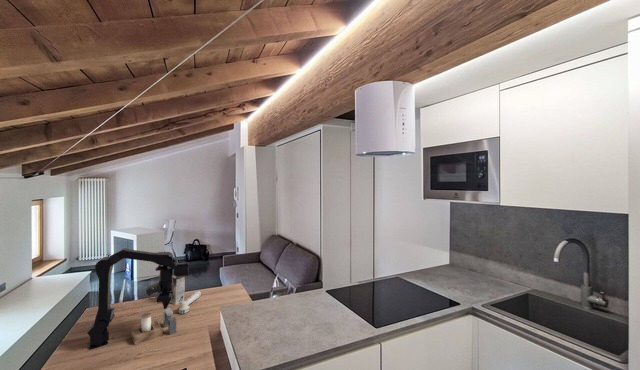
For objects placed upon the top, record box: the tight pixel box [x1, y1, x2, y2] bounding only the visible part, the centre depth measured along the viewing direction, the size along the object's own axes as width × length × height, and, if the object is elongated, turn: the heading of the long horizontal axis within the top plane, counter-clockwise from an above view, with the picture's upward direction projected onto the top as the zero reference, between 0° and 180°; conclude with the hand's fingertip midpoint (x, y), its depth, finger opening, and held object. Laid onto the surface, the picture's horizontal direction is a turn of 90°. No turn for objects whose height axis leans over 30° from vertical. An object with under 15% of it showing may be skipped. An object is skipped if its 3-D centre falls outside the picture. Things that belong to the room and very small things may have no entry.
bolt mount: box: [162, 311, 177, 336], centre depth 142 cm, size 3×12×7 cm, turn 43°
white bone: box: [178, 290, 202, 315], centre depth 170 cm, size 5×7×25 cm
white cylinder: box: [140, 312, 152, 333], centre depth 137 cm, size 4×4×10 cm
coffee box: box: [169, 273, 186, 306], centre depth 174 cm, size 9×6×16 cm
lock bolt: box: [164, 307, 174, 317], centre depth 143 cm, size 2×6×2 cm, turn 43°
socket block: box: [129, 320, 163, 346], centre depth 137 cm, size 12×12×3 cm
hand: (165, 308), depth 140 cm, fingers closed
